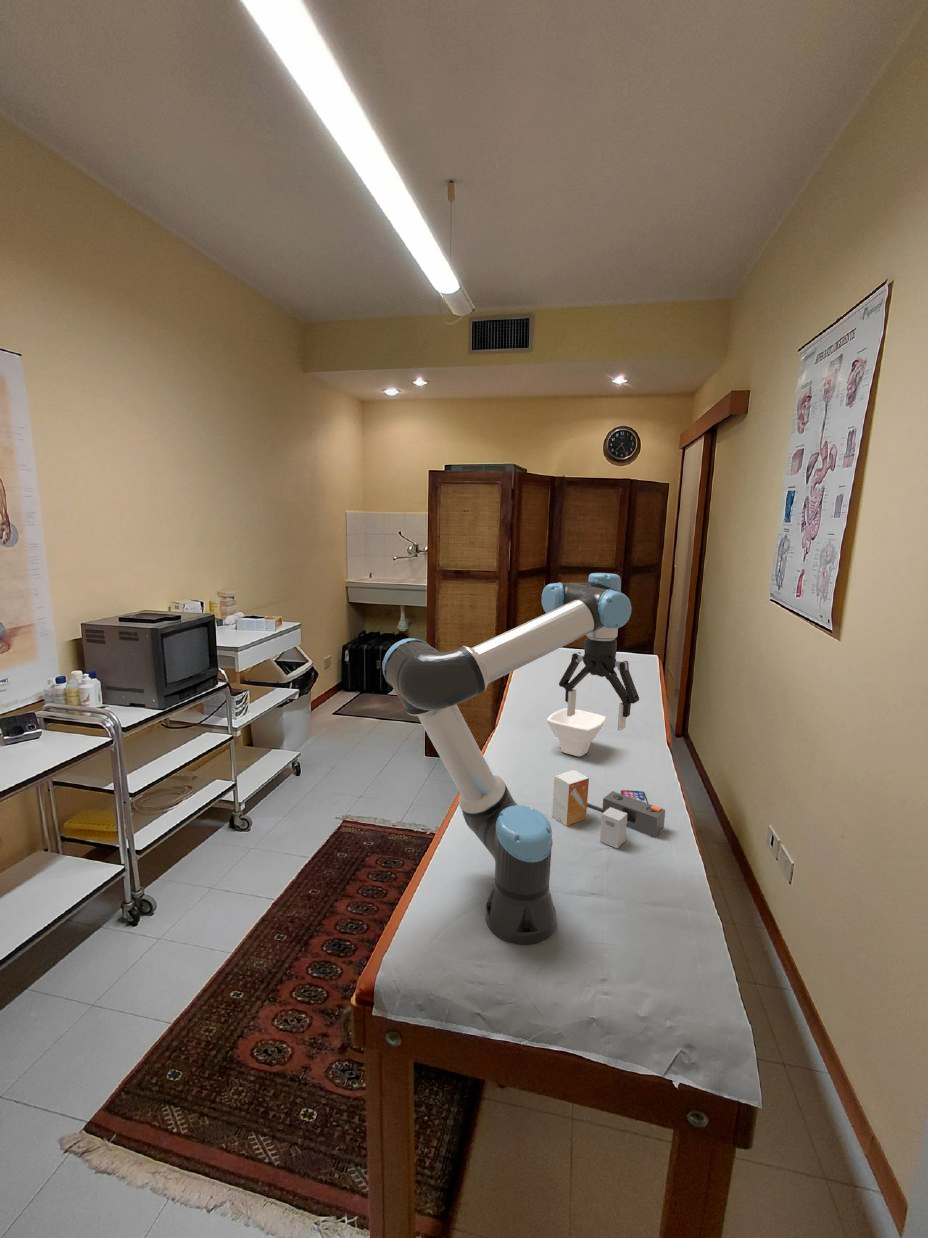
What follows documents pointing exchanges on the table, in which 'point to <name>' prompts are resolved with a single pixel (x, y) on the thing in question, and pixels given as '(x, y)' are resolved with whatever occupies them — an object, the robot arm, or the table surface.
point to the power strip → (635, 813)
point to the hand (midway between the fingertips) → (595, 721)
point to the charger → (613, 827)
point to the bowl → (575, 730)
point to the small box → (570, 797)
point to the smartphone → (635, 795)
